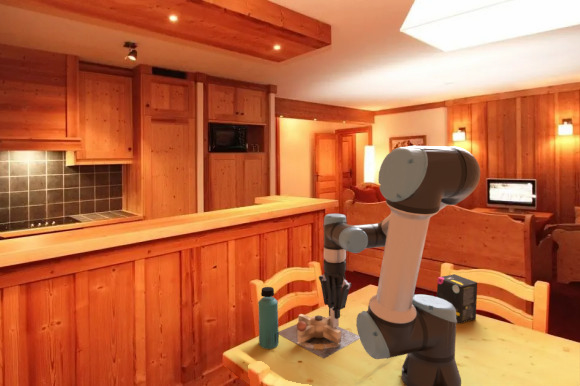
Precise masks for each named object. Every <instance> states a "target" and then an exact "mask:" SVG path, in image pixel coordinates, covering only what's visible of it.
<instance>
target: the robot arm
mask: <svg viewBox="0 0 580 386" xmlns="http://www.w3.org/2000/svg"><path fill="white" fill-rule="evenodd" d="M480 179H481V168H480V164H479V162H478V160H477V159H476V157H475V155H473V154H472V153H471V152H470V151H468V150H466V149H465V148H463V147H459V146H455V145H454V146H453V145H452V146H450V145H447V146H437V145H435V146H431V145H429V146H428V145H409V146H400V147H397V148H394V149H393V150H391V151H390V152H389V153H388V154H387V155H386V156H385V157H384V158H383V161H382V162H381V165H380V167H379V172H378V184H379V191H380V193H381V195H382V197H384V199H385V204H386V205H387V207H388V208H389V209H390V214H389V215H388V216H386V217H385V218H384V219H383V220H381V221H380V222H377V223H368V224H355V225H353V224H348V220H347V216H346V215H345V214H342V213H328V214H327V213H326V215H325V216H324V218H323V271H324V273H323V274H322V275H319V276H318V281H319V282H320V286H321V292H322V297H323V302H324V303H323V304H324V305H327V306H328V317H329V316H330V326H331V327H333V328H335V327H337V326H338V327H340V326H339V323H340V322H339V321H340V320H339V319H340V317H341V310H342V309H345V308H346V306H347V305H346V304H347V301H348V295H349V291H350V289H351V287H352V283H351V282H348V280H346V279H347V278H346V274H345V273H346V270H347V261H346V259H347V252H349V253H352V254H359V253H361V252H363V251H364V250H366V249H373V248H384V249H383V257H382V262H381V267H380V268H381V269H380V274H379V278H378V283H377V284H378V285H377V291H376V294H374V295H372V296H371V297H370V299H369V302H368V307H367V310H362V311H361V312H359V313H357V316H356V329H357V330H356V331H357V335H359V338H360V339H359V341H360V343H361V345H362V347H363V349H364V351H365V352H366V354H367V355H368V356H370V357H371V358H372V359H375V360H383V359H384V360H385V359H386V360H389V359H390V358H395V357H399V356H404V355H406V357H405V359H404V361H403V364H402V366H401V379H402V380H401V381H402V382H403V384H404V385H405V386H462V378H461V375H460V371H459V368H458V365H457V361H456V358H455V357H456V340H457V337H456V334H457V320H456V309H455V307H454V306H453V305H452V304H451V303H450V302H448V301H446V300H444V299H441V298H438V297H437V296H434V295H428V294H421V293H419V294H415V290H416V286H417V283H418V282H417V281H418V277H419V271H420V268H421V262H422V258H423V257H422V256H423V252H424V248H425V245H426V238H427V234H428V228H429V224H430V220H431V217H433V216H435V215H437V214H438V213H439V212H440V211H441V210H443V209H444V208H446V207H447V206H456V205H457V204H459V203H461V202H462V201H464V200H465V199H467V197H469V196H470V195H471V194H472V193H473V192H474V191H475V190H476V188H478V187H477V186H478V185H479V182H480V181H481V180H480Z"/></svg>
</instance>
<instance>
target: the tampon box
mask: <svg viewBox="0 0 580 386" xmlns="http://www.w3.org/2000/svg"><path fill="white" fill-rule="evenodd" d="M436 287H437V288H436V297H438V298H441V299H444V300H446V301H448V302H450V303H451V304H452V305H453V306H454V307H455V309H456V320H457V323H456V325H460V324H463V323H467V322H470V321H475V320H476V319H477V303H478V301H477V299H478V282H477V281H475V280H472V279H468V278H465V277H464V276H461V275H459V274H458V275H457V274H449V275H448V274H447V275H444V276H443V275H442V276H438V277H437V285H436Z"/></svg>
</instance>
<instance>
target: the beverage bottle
mask: <svg viewBox="0 0 580 386" xmlns="http://www.w3.org/2000/svg"><path fill="white" fill-rule="evenodd" d="M260 295H261V298H260V299H259V300H258V302H257V305H258V328H257V329H258V344H259V347H261V348H263V349H267V350H271V349H274V348H275V349H276V348H277V347H278V345H279V342H280V340H279V337H280V335H279V310H278V307H279V306H278V305H279V304H278V300H277V299H276V298H275V297H274V296H275V290H274V287H272V286H265V287H262V288H261V292H260Z"/></svg>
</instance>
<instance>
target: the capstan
mask: <svg viewBox="0 0 580 386" xmlns="http://www.w3.org/2000/svg"><path fill="white" fill-rule="evenodd" d="M297 319H298V322H297V323H296V324H297V329H298V342H300V343H302V342H305V341H307V340H309V339H311V338H313V337H314V338H324V337H325V338H327V339H329V340H331V341H333V342H335V343H337V344H338V343H340V342H341V331H340V330H337V329H335V328H333V327H331V326H330V316H329V315H328V316H323V315H314V316H311V317H310V316H308V315H306V314H303V313H300V314H298V317H297Z"/></svg>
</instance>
